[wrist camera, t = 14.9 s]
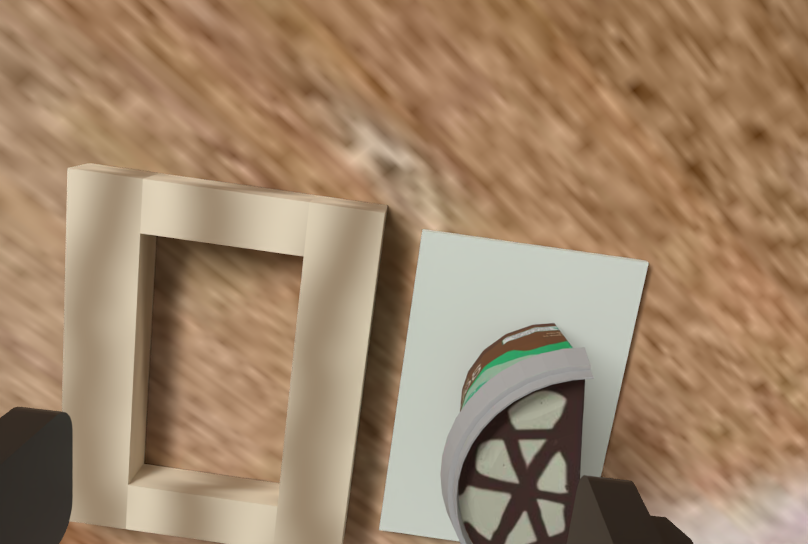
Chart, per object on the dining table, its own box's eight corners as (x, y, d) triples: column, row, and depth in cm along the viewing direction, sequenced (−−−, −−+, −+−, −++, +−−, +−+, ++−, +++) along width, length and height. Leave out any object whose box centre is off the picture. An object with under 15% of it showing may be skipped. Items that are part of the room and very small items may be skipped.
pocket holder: (387, 205, 40) (384, 212, 37) (344, 534, 44) (339, 559, 42) (89, 163, 40) (67, 168, 37) (78, 496, 45) (59, 519, 42)
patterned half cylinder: (440, 295, 40) (442, 362, 30) (555, 296, 40) (594, 364, 30) (438, 500, 43) (439, 621, 33) (545, 502, 43) (578, 625, 33)
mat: (646, 260, 40) (648, 262, 39) (580, 553, 44) (582, 559, 44) (422, 229, 40) (422, 230, 39) (379, 525, 44) (379, 530, 44)
